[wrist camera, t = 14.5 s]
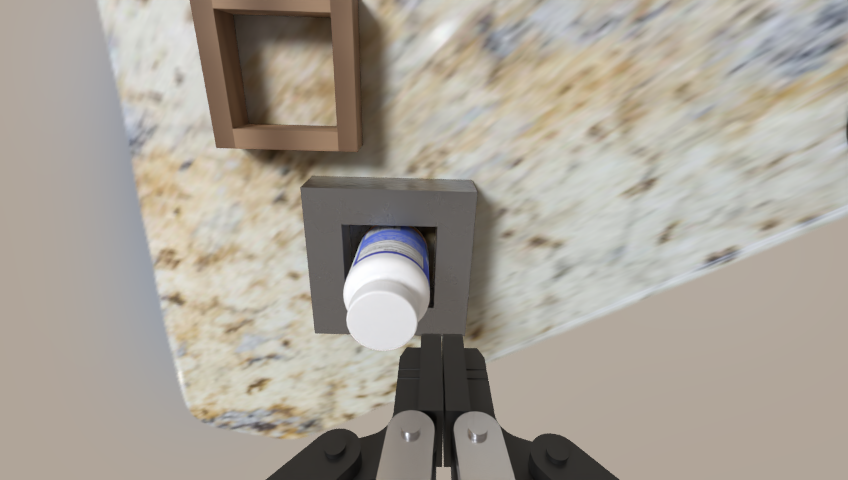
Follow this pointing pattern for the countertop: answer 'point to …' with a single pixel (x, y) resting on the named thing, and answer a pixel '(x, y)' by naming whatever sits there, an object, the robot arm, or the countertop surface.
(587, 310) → the countertop surface
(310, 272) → the steel block
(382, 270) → the pill bottle
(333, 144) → the walnut stand
